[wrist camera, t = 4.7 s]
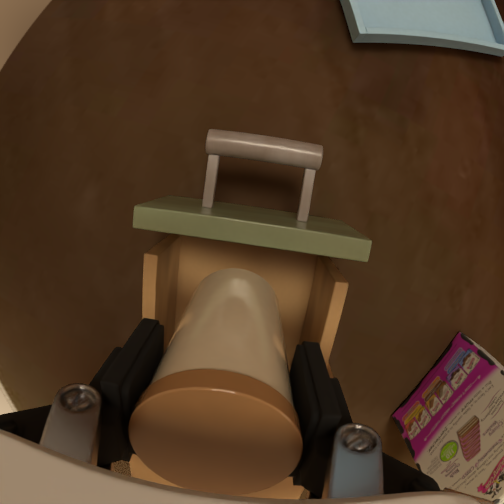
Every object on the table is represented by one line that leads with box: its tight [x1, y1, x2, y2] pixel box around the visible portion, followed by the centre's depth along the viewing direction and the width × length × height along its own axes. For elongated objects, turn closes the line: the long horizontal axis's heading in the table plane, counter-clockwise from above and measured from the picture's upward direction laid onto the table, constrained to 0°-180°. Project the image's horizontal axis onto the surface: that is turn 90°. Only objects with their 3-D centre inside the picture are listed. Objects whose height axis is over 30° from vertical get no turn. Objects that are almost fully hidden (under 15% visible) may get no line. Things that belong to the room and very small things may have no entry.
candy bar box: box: [392, 332, 504, 504], centre depth 19 cm, size 11×5×16 cm, turn 150°
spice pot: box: [128, 268, 303, 495], centre depth 11 cm, size 5×5×9 cm
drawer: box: [133, 129, 372, 373], centre depth 20 cm, size 18×12×7 cm
